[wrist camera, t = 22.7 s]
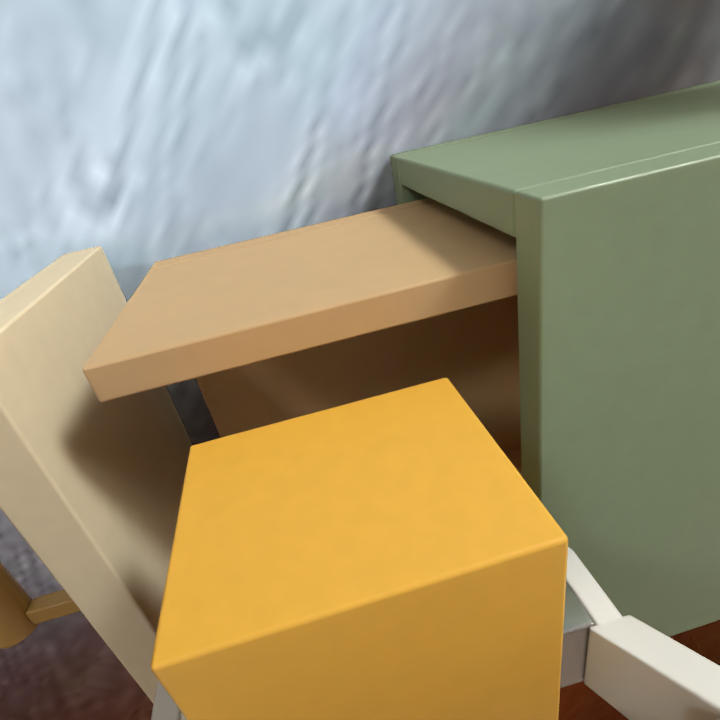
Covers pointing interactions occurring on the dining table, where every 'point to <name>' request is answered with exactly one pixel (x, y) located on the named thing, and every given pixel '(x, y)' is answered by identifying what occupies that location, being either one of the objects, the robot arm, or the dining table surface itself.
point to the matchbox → (363, 572)
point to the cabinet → (612, 331)
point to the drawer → (223, 383)
